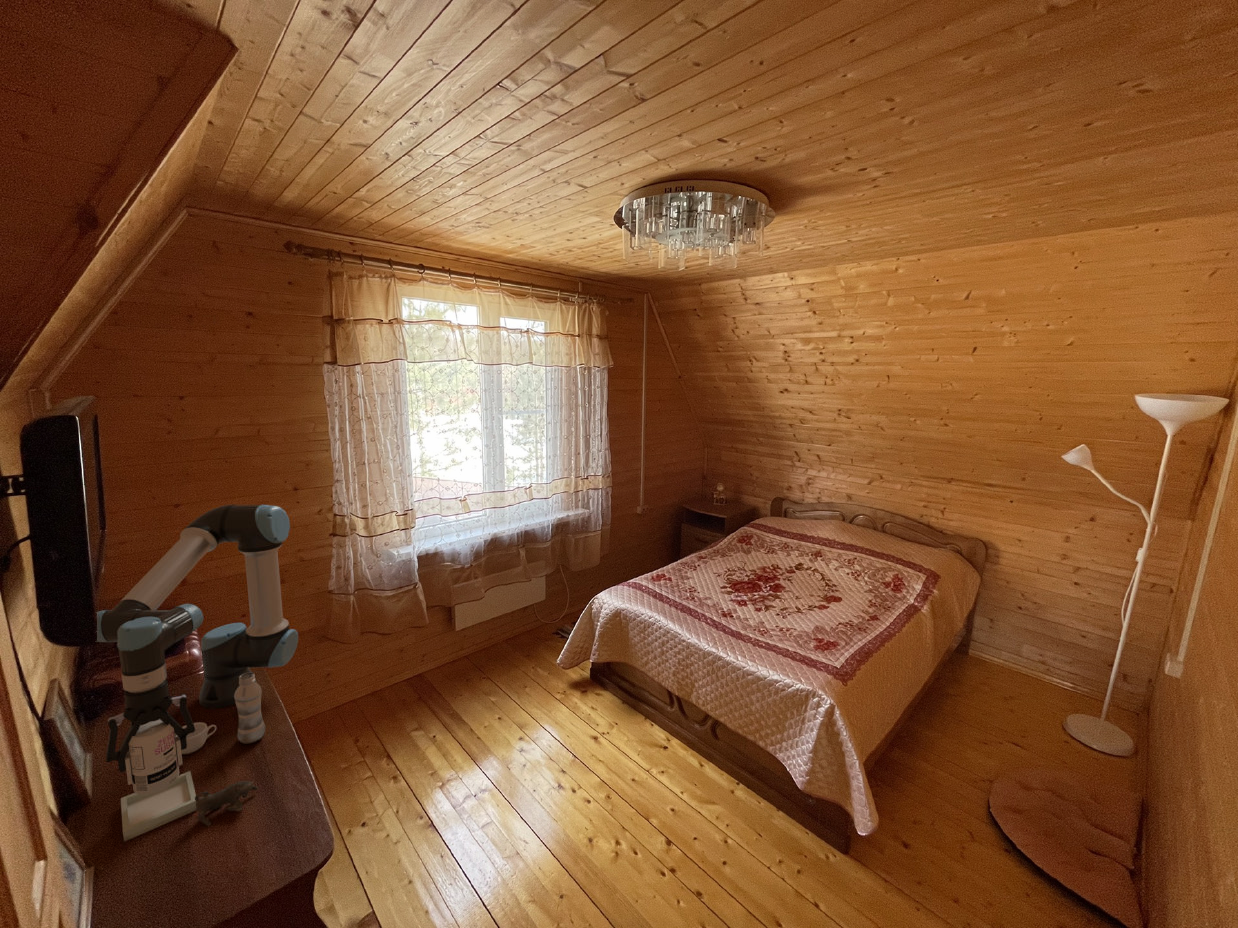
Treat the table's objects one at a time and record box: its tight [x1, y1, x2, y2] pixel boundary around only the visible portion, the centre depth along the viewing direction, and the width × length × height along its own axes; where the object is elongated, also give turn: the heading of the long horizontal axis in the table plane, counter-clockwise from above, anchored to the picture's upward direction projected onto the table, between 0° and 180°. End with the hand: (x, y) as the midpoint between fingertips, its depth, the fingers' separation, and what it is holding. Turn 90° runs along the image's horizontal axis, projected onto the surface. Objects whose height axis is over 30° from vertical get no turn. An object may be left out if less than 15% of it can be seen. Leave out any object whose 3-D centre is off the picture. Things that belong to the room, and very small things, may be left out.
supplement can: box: [128, 719, 180, 795], centre depth 122 cm, size 8×8×15 cm
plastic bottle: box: [234, 672, 266, 745], centre depth 147 cm, size 6×7×20 cm
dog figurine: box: [195, 780, 258, 827], centre depth 124 cm, size 12×6×7 cm, turn 129°
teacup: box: [175, 721, 217, 755], centre depth 145 cm, size 10×8×5 cm
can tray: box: [120, 770, 198, 843], centre depth 124 cm, size 13×13×2 cm
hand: (155, 771), depth 123 cm, fingers closed on supplement can, 8 cm apart
